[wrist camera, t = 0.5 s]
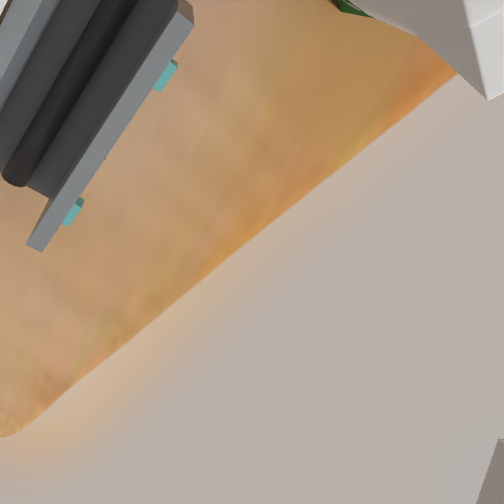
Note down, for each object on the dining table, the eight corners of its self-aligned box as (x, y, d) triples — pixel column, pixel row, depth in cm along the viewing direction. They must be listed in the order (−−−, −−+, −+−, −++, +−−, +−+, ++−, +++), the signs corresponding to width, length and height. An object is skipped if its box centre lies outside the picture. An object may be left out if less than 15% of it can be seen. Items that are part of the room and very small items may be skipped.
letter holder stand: (85, -84, 25) (56, -89, 20) (199, 12, 29) (202, 32, 23) (-33, 144, 31) (-82, 191, 26) (72, 202, 35) (49, 256, 29)
